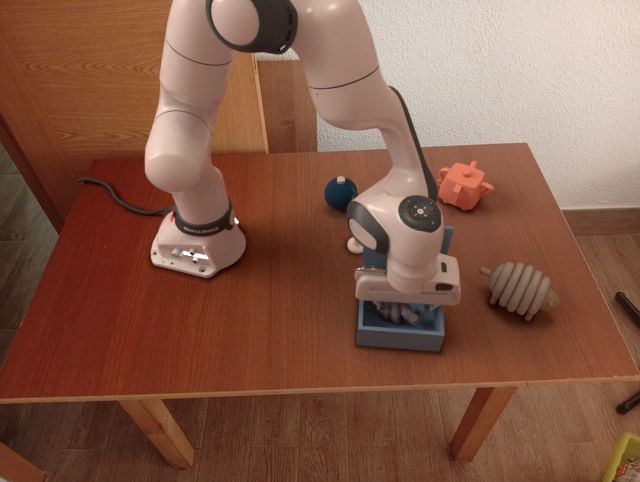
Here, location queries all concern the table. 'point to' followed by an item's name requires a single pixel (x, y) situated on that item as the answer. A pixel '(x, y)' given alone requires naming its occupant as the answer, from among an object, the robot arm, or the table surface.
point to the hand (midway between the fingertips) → (404, 308)
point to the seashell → (401, 313)
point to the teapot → (463, 185)
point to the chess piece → (354, 246)
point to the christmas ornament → (340, 192)
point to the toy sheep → (521, 289)
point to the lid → (381, 260)
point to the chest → (400, 329)
